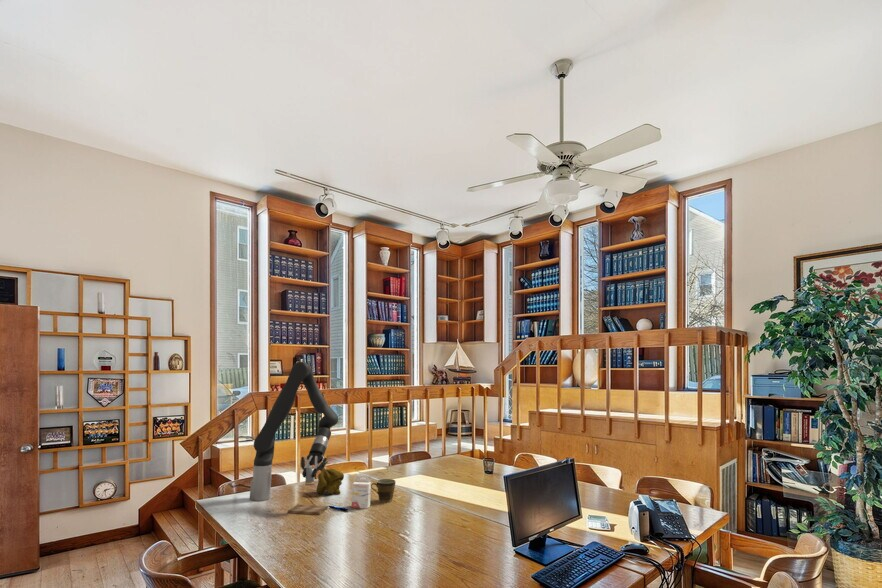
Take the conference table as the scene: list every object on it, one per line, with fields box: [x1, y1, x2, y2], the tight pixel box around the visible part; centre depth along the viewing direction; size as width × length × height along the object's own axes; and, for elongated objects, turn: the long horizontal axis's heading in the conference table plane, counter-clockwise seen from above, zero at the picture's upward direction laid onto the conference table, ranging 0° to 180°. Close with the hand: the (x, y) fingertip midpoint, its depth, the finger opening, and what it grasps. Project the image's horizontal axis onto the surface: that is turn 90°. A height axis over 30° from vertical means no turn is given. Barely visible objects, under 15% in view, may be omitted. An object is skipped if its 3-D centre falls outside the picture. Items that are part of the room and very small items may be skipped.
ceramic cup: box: [371, 478, 397, 504], centre depth 250 cm, size 13×10×10 cm
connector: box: [304, 465, 315, 486], centre depth 234 cm, size 4×4×9 cm
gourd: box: [315, 467, 345, 495], centre depth 264 cm, size 14×14×14 cm
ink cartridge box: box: [351, 474, 372, 509], centre depth 240 cm, size 9×5×15 cm, turn 84°
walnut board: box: [287, 503, 329, 516], centre depth 231 cm, size 16×10×1 cm, turn 82°
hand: (308, 476), depth 232 cm, fingers closed on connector, 4 cm apart
